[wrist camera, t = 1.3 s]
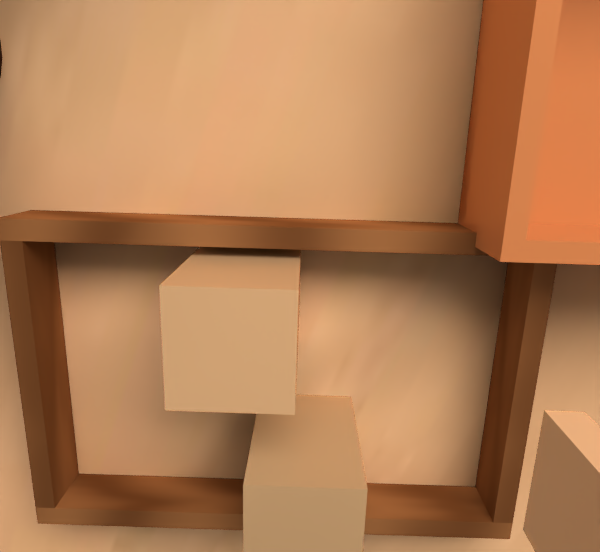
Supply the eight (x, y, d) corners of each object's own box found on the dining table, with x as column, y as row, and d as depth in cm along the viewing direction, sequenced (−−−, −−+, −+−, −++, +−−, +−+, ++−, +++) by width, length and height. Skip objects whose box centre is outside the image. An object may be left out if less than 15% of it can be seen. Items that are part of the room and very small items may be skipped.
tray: (62, 487, 23) (37, 523, 21) (30, 210, 19) (-3, 218, 17) (490, 502, 23) (509, 539, 20) (533, 225, 19) (562, 235, 17)
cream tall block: (204, 336, 21) (165, 410, 15) (202, 244, 20) (158, 285, 14) (298, 339, 21) (294, 414, 15) (300, 247, 20) (298, 290, 14)
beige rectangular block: (259, 471, 22) (243, 584, 17) (260, 393, 21) (243, 485, 16) (346, 474, 22) (359, 588, 17) (351, 396, 21) (367, 489, 16)
